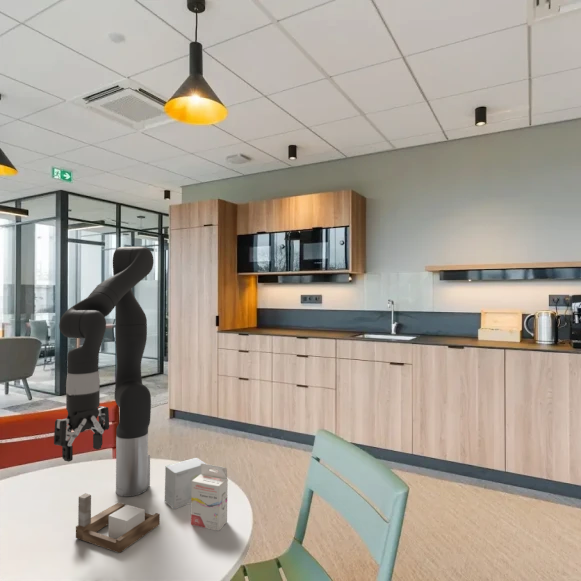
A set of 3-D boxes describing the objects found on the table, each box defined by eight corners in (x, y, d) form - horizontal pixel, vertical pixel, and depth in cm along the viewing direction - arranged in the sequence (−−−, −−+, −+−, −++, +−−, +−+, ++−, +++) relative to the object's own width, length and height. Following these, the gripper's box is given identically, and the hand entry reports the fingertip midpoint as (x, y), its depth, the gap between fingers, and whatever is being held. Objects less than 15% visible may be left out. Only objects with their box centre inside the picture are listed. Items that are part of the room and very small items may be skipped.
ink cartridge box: (189, 525, 111) (190, 469, 111) (199, 516, 116) (200, 462, 116) (219, 531, 108) (219, 473, 108) (228, 522, 113) (228, 466, 113)
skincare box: (174, 510, 119) (174, 472, 119) (164, 501, 124) (164, 465, 124) (206, 498, 126) (207, 462, 126) (195, 490, 131) (196, 456, 131)
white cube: (108, 540, 104) (108, 515, 104) (126, 527, 110) (127, 504, 110) (126, 546, 102) (126, 520, 102) (144, 533, 107) (144, 509, 107)
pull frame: (118, 512, 117) (118, 476, 117) (159, 524, 111) (159, 487, 111) (75, 537, 105) (76, 497, 105) (119, 552, 98) (120, 510, 99)
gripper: (95, 383, 114) (95, 443, 114) (46, 394, 101) (46, 462, 101) (116, 385, 111) (116, 447, 111) (68, 397, 98) (68, 467, 98)
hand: (83, 454), depth 106 cm, fingers open, 8 cm apart
